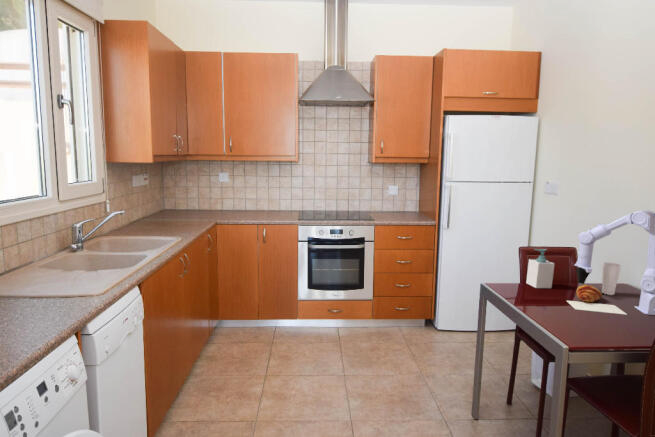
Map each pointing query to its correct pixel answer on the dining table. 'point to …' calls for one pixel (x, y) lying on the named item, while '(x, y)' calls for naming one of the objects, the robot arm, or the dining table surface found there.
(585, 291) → the croissant
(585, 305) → the mat
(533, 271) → the soap bottle
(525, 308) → the dining table surface
